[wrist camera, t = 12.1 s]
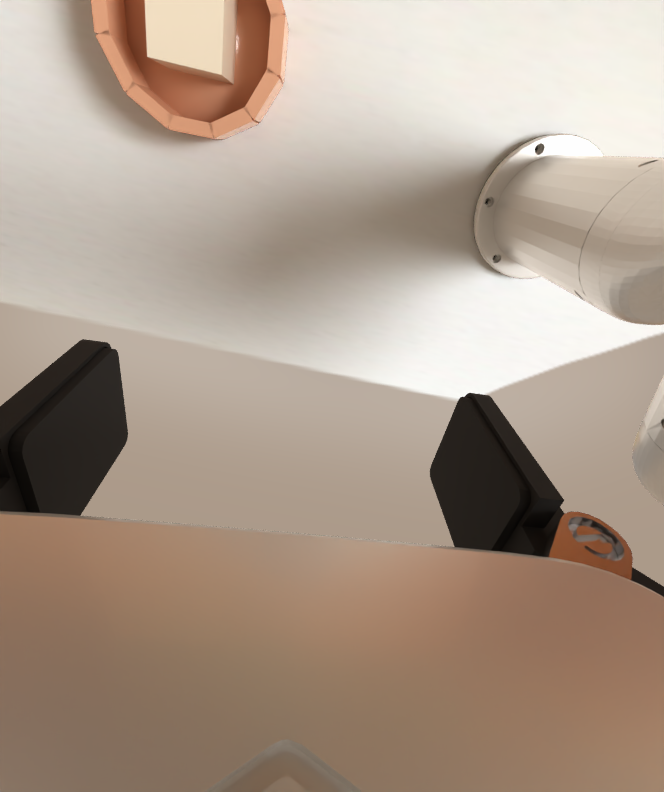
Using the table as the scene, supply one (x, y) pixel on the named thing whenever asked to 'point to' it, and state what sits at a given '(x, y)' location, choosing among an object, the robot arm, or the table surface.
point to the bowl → (189, 94)
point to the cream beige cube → (193, 36)
